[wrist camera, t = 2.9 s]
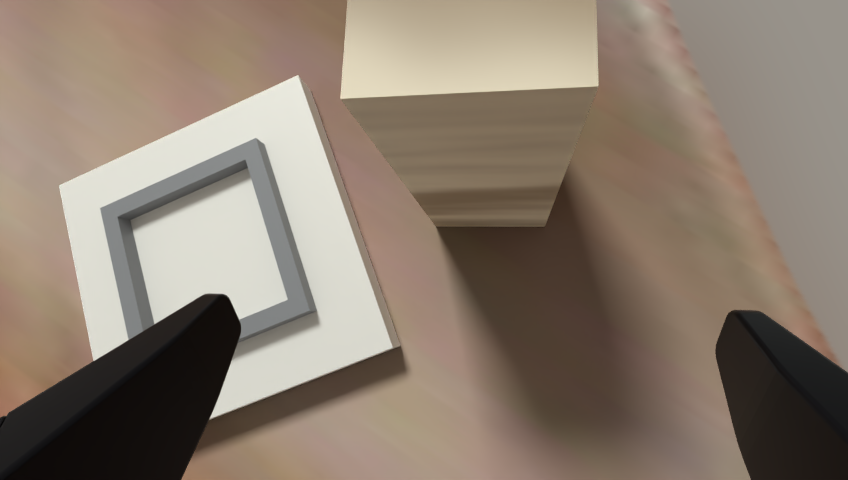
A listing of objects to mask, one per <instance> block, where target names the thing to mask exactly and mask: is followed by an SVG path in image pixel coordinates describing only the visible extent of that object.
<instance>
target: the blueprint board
mask: <svg viewBox="0 0 848 480" xmlns="http://www.w3.org/2000/svg"><path fill="white" fill-rule="evenodd" d="M59 188H60V193H61V198H62V203H63V208H64V213H65V218H66V224H67V229H68V234H69V239H70V244H71V249H72V254H73V259H74V264H75V269H76V274H77V279H78V284H79V289H80V295H81V300H82V305H83V310H84V315H85V320H86V325H87V330H88V335H89V340H90V345H91V350H92V355H93V360H94V361H95V360H96V359H98V358H100V357H101V356H103V355H105V354H106V353H108V352H110V351H111V350H113V349H114V348H116V347H118V346H119V345H121V344H123V343H124V342H126V341H128V340H129V339H131V338H133V337H134V336H136V335H138V334H139V333H141V332H142V331H144V330H146V329H147V328H149V327H151V326H152V325H154V324H156V323H157V322H159V321H161V320H162V319H164V318H166V317H167V316H169V315H170V314H172V313H174V312H175V311H177V310H179V309H180V308H182V307H184V306H185V305H187V304H189V303H190V302H192V301H194V300H195V299H197V298H198V297H200V296H202V295H204V294H208V293H214V294H225V295H227V296H228V297H229V298H230V300H231V303H232V305H233V307H234V309H235V311H236V314H237V316H238V318H239V320H240V323H241V335H240V338H239V341H238V344H237V347H236V350H235V352H234V355H233V358H232V361H231V364H230V367H229V370H228V372H227V375H226V378H225V381H224V384H223V387H222V390H221V392H220V395H219V398H218V400H217V403H216V405H215V408H214V410H213V412H212V415H211V417H210V419H209V420H211V419H214V418H216V417H219V416H222V415H224V414H227V413H229V412H232V411H234V410H237V409H240V408H242V407H245V406H247V405H250V404H252V403H255V402H258V401H260V400H263V399H265V398H268V397H271V396H273V395H276V394H278V393H281V392H283V391H286V390H289V389H291V388H294V387H296V386H299V385H301V384H304V383H307V382H309V381H312V380H314V379H317V378H319V377H322V376H325V375H327V374H330V373H332V372H335V371H337V370H340V369H343V368H345V367H348V366H350V365H353V364H356V363H358V362H361V361H363V360H366V359H368V358H371V357H374V356H376V355H379V354H381V353H384V352H386V351H389V350H392V349H394V348H397V347H399V346H401V345H400V343H399V340H398V337H397V334H396V331H395V328H394V326H393V323H392V320H391V317H390V314H389V311H388V309H387V306H386V303H385V300H384V297H383V294H382V292H381V289H380V286H379V283H378V280H377V277H376V274H375V272H374V269H373V266H372V263H371V260H370V257H369V255H368V252H367V249H366V246H365V243H364V240H363V238H362V235H361V232H360V229H359V226H358V223H357V220H356V218H355V215H354V212H353V209H352V206H351V203H350V201H349V198H348V195H347V192H346V189H345V186H344V184H343V181H342V178H341V175H340V172H339V169H338V166H337V164H336V161H335V158H334V155H333V152H332V149H331V147H330V144H329V141H328V138H327V135H326V132H325V130H324V127H323V124H322V121H321V118H320V115H319V113H318V110H317V107H316V104H315V101H314V98H313V95H312V93H311V90H310V89H309V87H308V86H307V85H306V84H305V83H304V82H303V80H302V79H301V78H300V77H299V76H298V75H297V76H295V77H293V78H291V79H289V80H286V81H284V82H282V83H280V84H278V85H276V86H273V87H271V88H269V89H267V90H265V91H263V92H260V93H258V94H256V95H254V96H252V97H250V98H247V99H245V100H243V101H241V102H239V103H237V104H234V105H232V106H230V107H228V108H226V109H224V110H221V111H219V112H217V113H215V114H213V115H211V116H208V117H206V118H204V119H202V120H200V121H198V122H195V123H193V124H191V125H189V126H187V127H185V128H182V129H180V130H178V131H176V132H174V133H172V134H170V135H167V136H165V137H163V138H161V139H159V140H157V141H154V142H152V143H150V144H148V145H146V146H144V147H141V148H139V149H137V150H135V151H133V152H131V153H128V154H126V155H124V156H122V157H120V158H118V159H115V160H113V161H111V162H109V163H107V164H105V165H102V166H100V167H98V168H96V169H94V170H92V171H89V172H87V173H85V174H83V175H81V176H79V177H76V178H74V179H72V180H70V181H68V182H66V183H63V184H61V185H59Z"/></svg>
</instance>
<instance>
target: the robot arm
mask: <svg viewBox="0 0 848 480" xmlns="http://www.w3.org/2000/svg"><path fill="white" fill-rule="evenodd" d="M240 335H241V323H240V320H239V318H238V316H237V314H236V311H235V309H234V307H233V305H232V303H231V300H230V298H229V297H228V296H227V295H225V294H214V293H208V294H204V295H202V296H200V297H198V298H197V299H195V300H194V301H192V302H190V303H189V304H187V305H185V306H184V307H182V308H180V309H179V310H177V311H175V312H174V313H172V314H170V315H169V316H167V317H166V318H164V319H162V320H161V321H159V322H157V323H156V324H154V325H152V326H151V327H149V328H147V329H146V330H144V331H142V332H141V333H139V334H138V335H136V336H134V337H133V338H131V339H129V340H128V341H126V342H124V343H123V344H121V345H119V346H118V347H116V348H114V349H113V350H111V351H110V352H108V353H106V354H105V355H103V356H101V357H100V358H98V359H96V360H95V361H93V362H91V363H90V364H88V365H86V366H85V367H83V368H82V369H80V370H78V371H77V372H75V373H73V374H72V375H70V376H68V377H67V378H65V379H63V380H62V381H60V382H58V383H57V384H55V385H54V386H52V387H50V388H49V389H47V390H45V391H44V392H42V393H40V394H39V395H37V396H35V397H34V398H32V399H31V400H29V401H27V402H26V403H24V404H22V405H21V406H19V407H17V408H16V409H14V410H12V411H11V412H9V413H8V415H7V416H2V417H1V418H0V480H181V479H182V477H183V474H184V472H185V470H186V468H187V466H188V464H189V462H190V460H191V457H192V455H193V453H194V451H195V449H196V447H197V445H198V442H199V440H200V438H201V436H202V434H203V432H204V430H205V427H206V425H207V423H208V421H209V419H210V417H211V415H212V412H213V410H214V408H215V405H216V403H217V400H218V398H219V395H220V392H221V390H222V387H223V384H224V381H225V378H226V375H227V372H228V370H229V367H230V364H231V361H232V358H233V355H234V352H235V350H236V347H237V344H238V341H239V338H240ZM716 360H717V364H718V368H719V372H720V376H721V380H722V384H723V388H724V392H725V395H726V399H727V403H728V407H729V411H730V415H731V419H732V423H733V427H734V431H735V435H736V438H737V442H738V445H739V448H740V451H741V454H742V457H743V460H744V462H745V465H746V468H747V470H748V473H749V476H750V478H751V480H848V372H846V371H845V370H843V369H842V368H840V367H839V366H838V365H836V364H835V363H833V362H832V361H831V360H829V359H828V358H826V357H825V356H823V355H822V354H821V353H819V352H818V351H816V350H815V349H814V348H812V347H811V346H809V345H808V344H806V343H805V342H804V341H802V340H801V339H799V338H798V337H797V336H795V335H794V334H792V333H791V332H789V331H788V330H787V329H785V328H784V327H782V326H781V325H780V324H778V323H777V322H775V321H774V320H772V319H771V318H770V317H768V316H767V315H765V314H764V313H762V312H760V311H754V310H733V311H731V312H729V314H728V315H727V317H726V319H725V322H724V325H723V327H722V330H721V333H720V335H719V338H718V341H717V344H716Z"/></svg>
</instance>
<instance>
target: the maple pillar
mask: <svg viewBox="0 0 848 480" xmlns="http://www.w3.org/2000/svg"><path fill="white" fill-rule="evenodd" d="M597 89H598V50H597V12H596V0H348V2H347V16H346V30H345V43H344V57H343V71H342V85H341V98H340V99H341V100H342V102H343V103H344V104H345V106H346V107H347V108H348V110H349V111H350V112H351V114H352V115H353V116H354V118H355V119H356V120H357V122H358V123H359V124H360V126H361V127H362V128H363V130H364V131H365V132H366V134H367V135H368V136H369V138H370V139H371V140H372V142H373V143H374V144H375V146H376V147H377V148H378V150H379V151H380V152H381V154H382V155H383V156H384V158H385V159H386V160H387V162H388V163H389V164H390V166H391V167H392V168H393V170H394V171H395V172H396V174H397V175H398V176H399V178H400V179H401V180H402V182H403V183H404V184H405V186H406V187H407V188H408V190H409V191H410V192H411V194H412V195H413V196H414V198H415V199H416V201H417V202H418V203H419V205H420V206H421V207H422V209H423V210H424V211H425V213H426V214H427V215H428V217H429V218H430V219H431V221H432V222H433V223H434V225H435V226H436V227H545V225H546V222H547V220H548V217H549V215H550V212H551V209H552V207H553V204H554V201H555V199H556V196H557V194H558V191H559V188H560V186H561V183H562V180H563V178H564V175H565V173H566V170H567V167H568V165H569V162H570V160H571V157H572V154H573V152H574V149H575V146H576V144H577V141H578V139H579V136H580V133H581V131H582V128H583V125H584V123H585V120H586V118H587V115H588V112H589V110H590V107H591V105H592V102H593V99H594V97H595V94H596V91H597Z"/></svg>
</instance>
